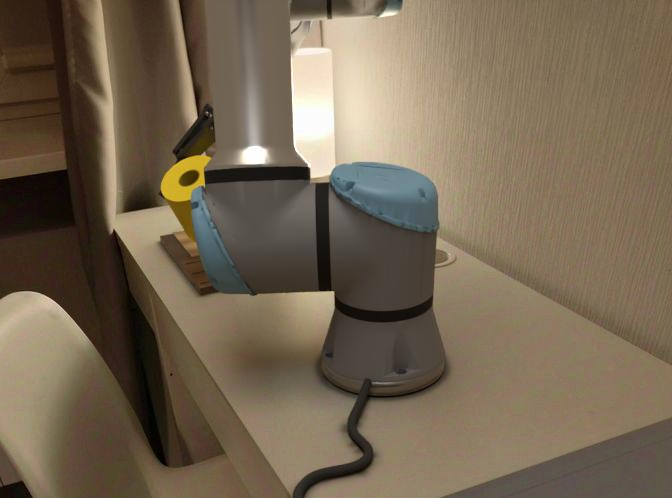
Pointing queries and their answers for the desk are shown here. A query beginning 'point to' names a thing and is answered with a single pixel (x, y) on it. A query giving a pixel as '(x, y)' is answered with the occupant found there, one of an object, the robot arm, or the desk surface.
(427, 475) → the desk surface
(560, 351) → the desk surface
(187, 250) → the board
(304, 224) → the robot arm
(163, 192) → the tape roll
